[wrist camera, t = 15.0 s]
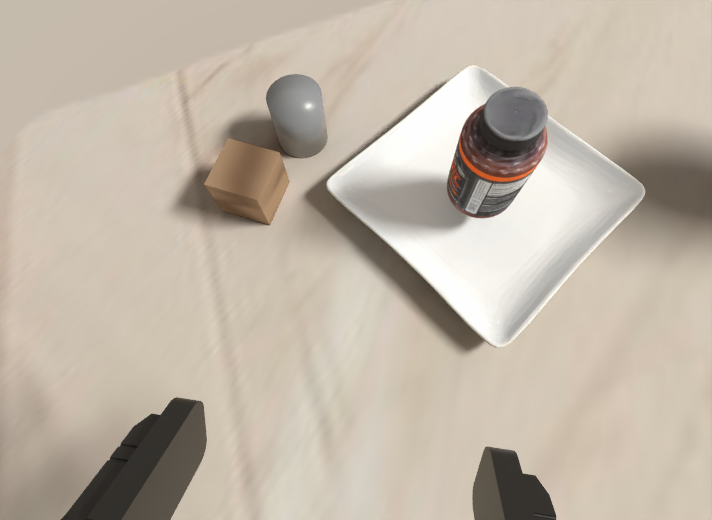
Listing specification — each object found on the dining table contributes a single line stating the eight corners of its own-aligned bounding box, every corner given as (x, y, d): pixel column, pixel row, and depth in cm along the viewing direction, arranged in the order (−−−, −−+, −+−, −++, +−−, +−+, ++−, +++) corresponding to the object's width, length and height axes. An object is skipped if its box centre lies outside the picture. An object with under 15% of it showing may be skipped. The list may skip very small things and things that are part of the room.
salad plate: (632, 204, 40) (655, 186, 37) (489, 359, 35) (502, 354, 32) (465, 82, 46) (473, 57, 43) (323, 201, 41) (319, 183, 38)
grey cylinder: (269, 140, 43) (254, 99, 37) (301, 110, 44) (292, 65, 39) (305, 166, 42) (295, 128, 36) (337, 134, 43) (332, 92, 38)
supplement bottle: (442, 162, 38) (463, 74, 27) (508, 158, 38) (556, 67, 27) (448, 223, 36) (473, 155, 26) (518, 219, 36) (573, 149, 25)
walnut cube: (222, 211, 40) (203, 184, 36) (243, 169, 42) (228, 138, 37) (270, 225, 40) (256, 200, 35) (289, 182, 41) (279, 152, 37)
